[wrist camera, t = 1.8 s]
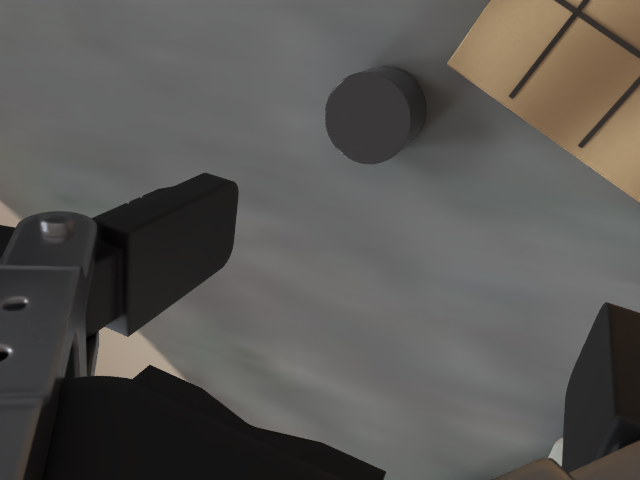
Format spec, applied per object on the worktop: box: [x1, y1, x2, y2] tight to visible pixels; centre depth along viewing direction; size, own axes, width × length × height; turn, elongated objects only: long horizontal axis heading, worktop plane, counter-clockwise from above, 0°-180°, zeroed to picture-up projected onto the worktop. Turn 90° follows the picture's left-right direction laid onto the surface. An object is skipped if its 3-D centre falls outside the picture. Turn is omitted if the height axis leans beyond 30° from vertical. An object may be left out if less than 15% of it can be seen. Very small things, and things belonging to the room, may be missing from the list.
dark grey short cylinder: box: [325, 66, 426, 164], centre depth 30 cm, size 5×5×3 cm
